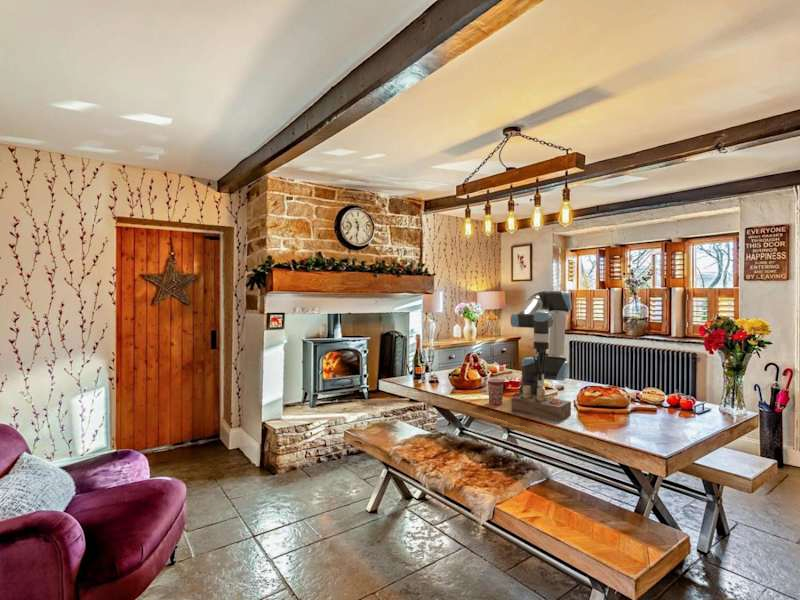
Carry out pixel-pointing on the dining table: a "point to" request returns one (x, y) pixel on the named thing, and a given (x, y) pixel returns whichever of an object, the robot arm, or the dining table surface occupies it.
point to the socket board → (541, 407)
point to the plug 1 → (526, 392)
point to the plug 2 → (555, 400)
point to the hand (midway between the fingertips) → (540, 386)
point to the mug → (496, 391)
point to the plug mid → (541, 394)
